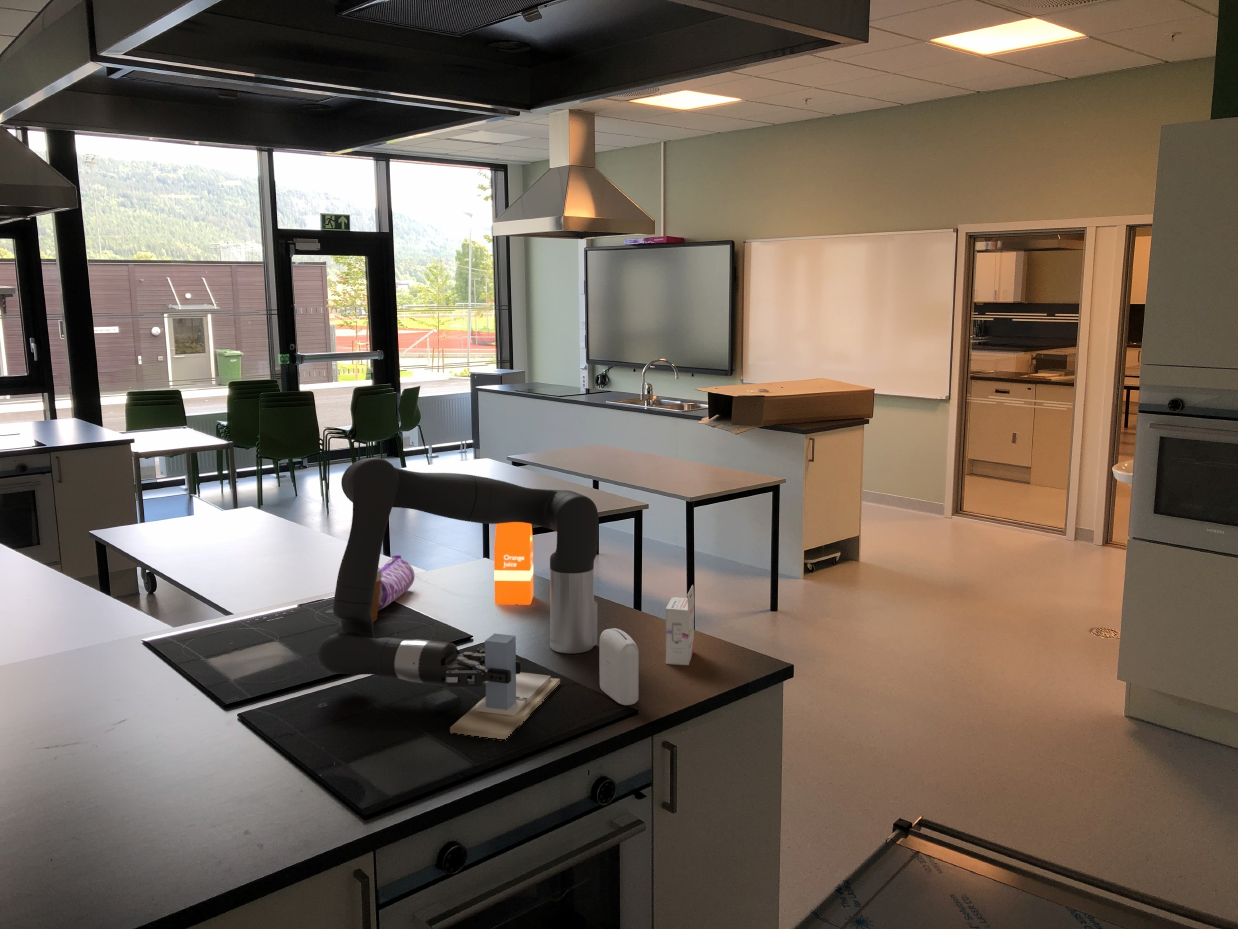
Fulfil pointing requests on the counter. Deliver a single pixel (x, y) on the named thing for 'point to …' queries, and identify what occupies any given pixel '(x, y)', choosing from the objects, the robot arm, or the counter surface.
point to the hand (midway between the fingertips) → (515, 672)
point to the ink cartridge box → (680, 629)
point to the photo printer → (618, 666)
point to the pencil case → (394, 580)
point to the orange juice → (513, 563)
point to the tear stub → (501, 694)
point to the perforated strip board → (502, 726)
